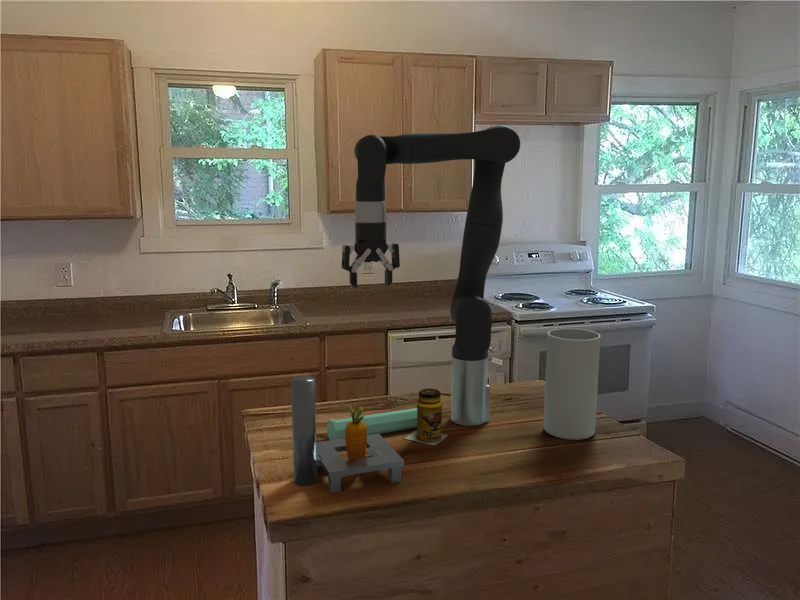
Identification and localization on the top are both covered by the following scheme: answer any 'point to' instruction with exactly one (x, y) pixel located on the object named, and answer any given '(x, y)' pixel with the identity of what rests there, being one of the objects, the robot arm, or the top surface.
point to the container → (376, 423)
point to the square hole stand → (331, 445)
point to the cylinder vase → (571, 383)
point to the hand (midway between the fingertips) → (371, 286)
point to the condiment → (428, 418)
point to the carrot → (356, 435)
